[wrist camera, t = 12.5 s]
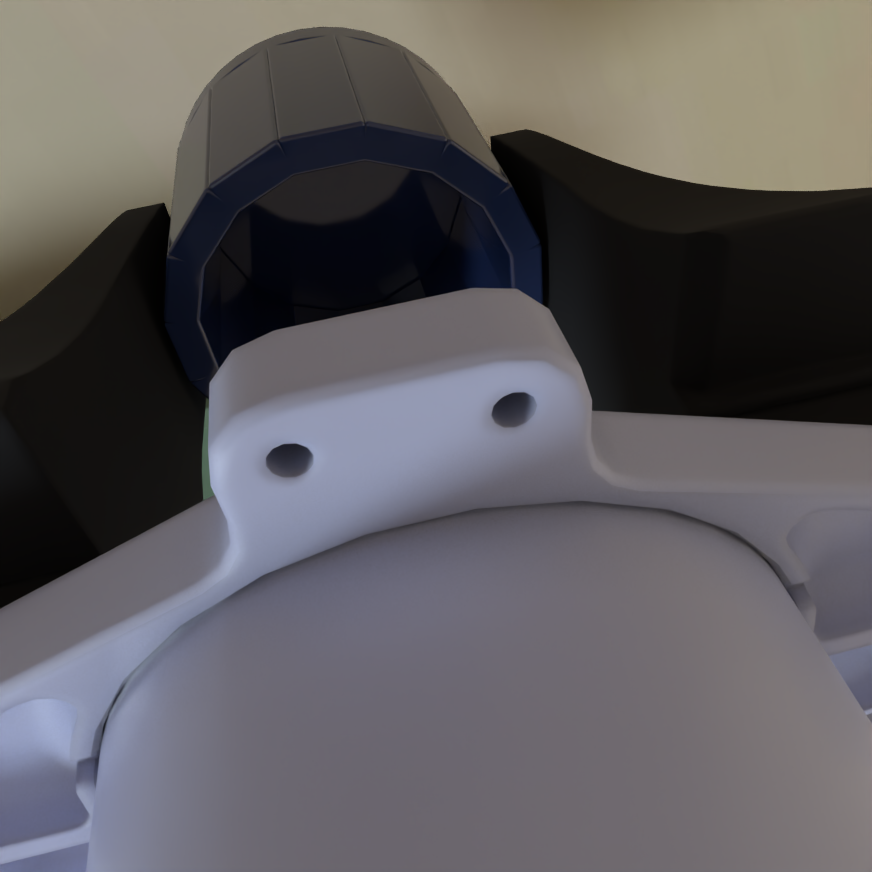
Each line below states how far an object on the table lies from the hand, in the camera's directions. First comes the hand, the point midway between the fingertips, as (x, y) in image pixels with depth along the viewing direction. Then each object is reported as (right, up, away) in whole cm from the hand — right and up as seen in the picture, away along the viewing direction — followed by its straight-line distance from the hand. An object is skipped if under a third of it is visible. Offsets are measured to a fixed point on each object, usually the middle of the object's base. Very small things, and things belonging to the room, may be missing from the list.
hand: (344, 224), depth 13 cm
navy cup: (0, +1, +1) cm, 1 cm away
